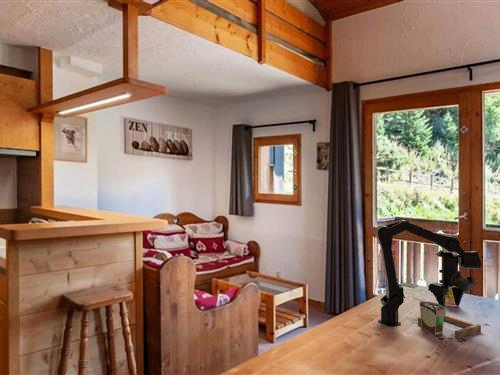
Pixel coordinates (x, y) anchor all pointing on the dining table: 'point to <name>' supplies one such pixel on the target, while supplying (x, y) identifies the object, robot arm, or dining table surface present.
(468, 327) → the bay
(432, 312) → the food container
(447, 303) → the supplement bottle
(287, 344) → the dining table surface
